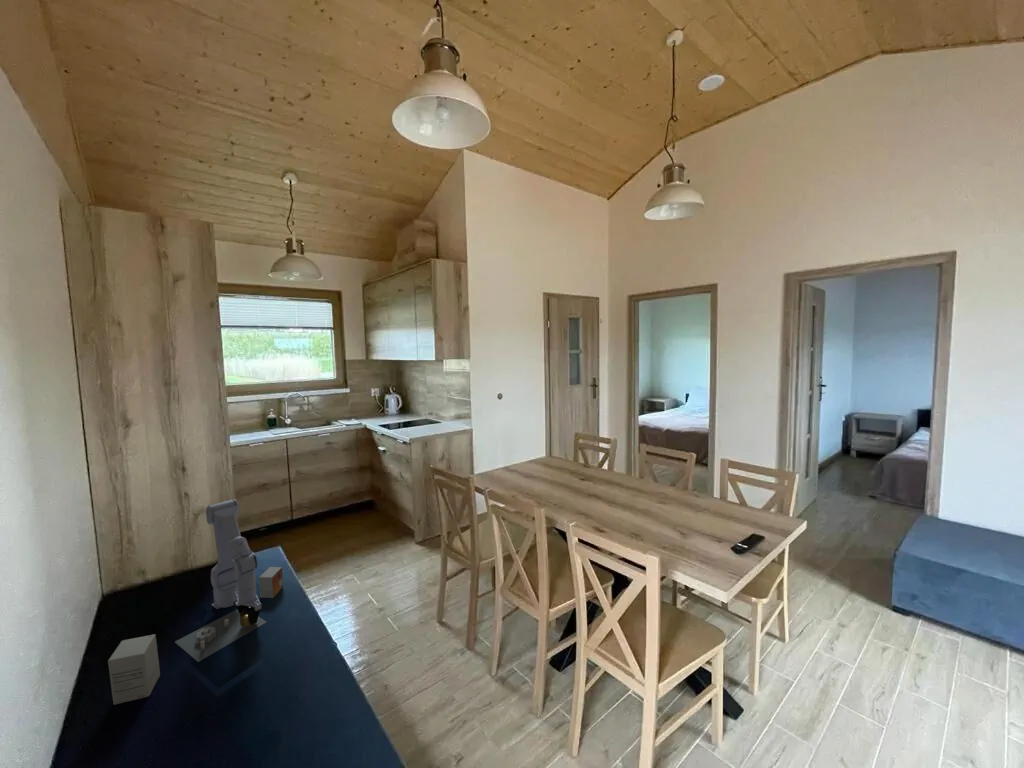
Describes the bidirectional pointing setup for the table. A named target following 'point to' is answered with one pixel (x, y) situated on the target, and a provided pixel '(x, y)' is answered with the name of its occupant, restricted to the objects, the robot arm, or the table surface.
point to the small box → (271, 582)
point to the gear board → (215, 635)
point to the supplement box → (134, 669)
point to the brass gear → (244, 619)
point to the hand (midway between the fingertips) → (249, 620)
